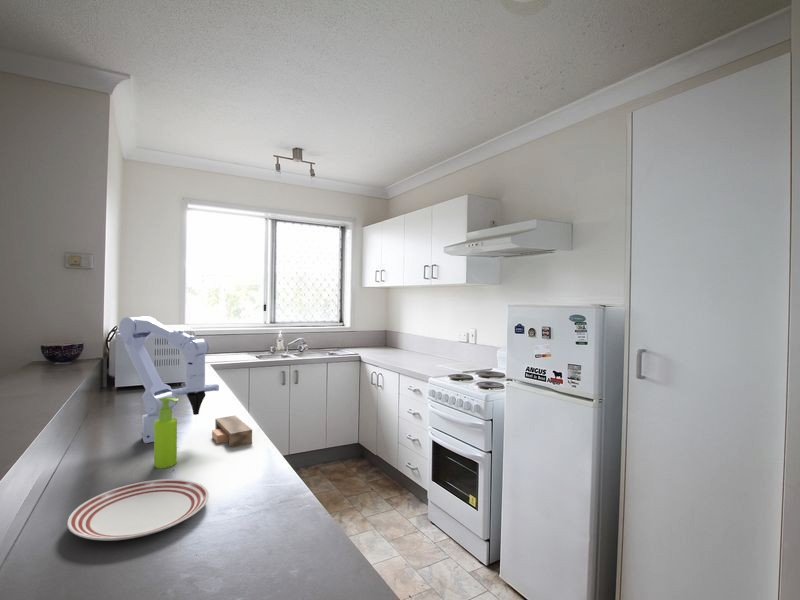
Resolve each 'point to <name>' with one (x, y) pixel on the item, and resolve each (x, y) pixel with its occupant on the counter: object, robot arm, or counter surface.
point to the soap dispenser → (165, 436)
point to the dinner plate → (137, 509)
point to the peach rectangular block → (220, 435)
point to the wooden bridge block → (235, 430)
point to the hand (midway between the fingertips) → (195, 413)
